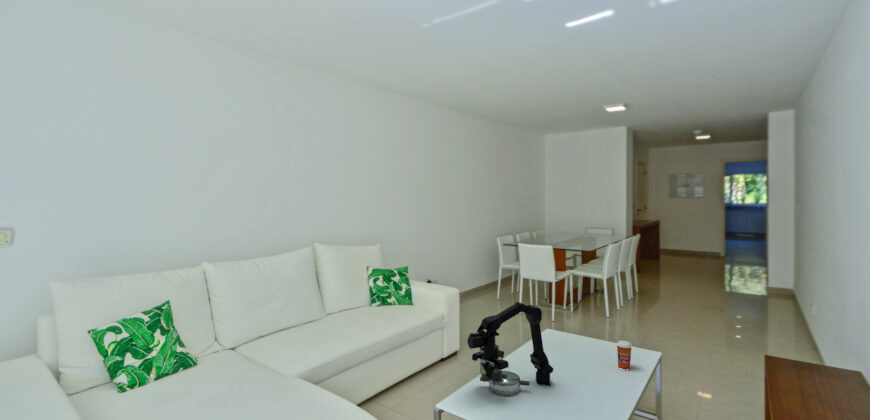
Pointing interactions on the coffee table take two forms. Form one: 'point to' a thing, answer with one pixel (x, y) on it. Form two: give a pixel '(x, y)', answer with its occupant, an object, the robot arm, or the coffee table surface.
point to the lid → (502, 377)
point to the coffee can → (481, 361)
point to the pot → (506, 388)
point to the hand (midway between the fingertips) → (490, 378)
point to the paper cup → (624, 354)
